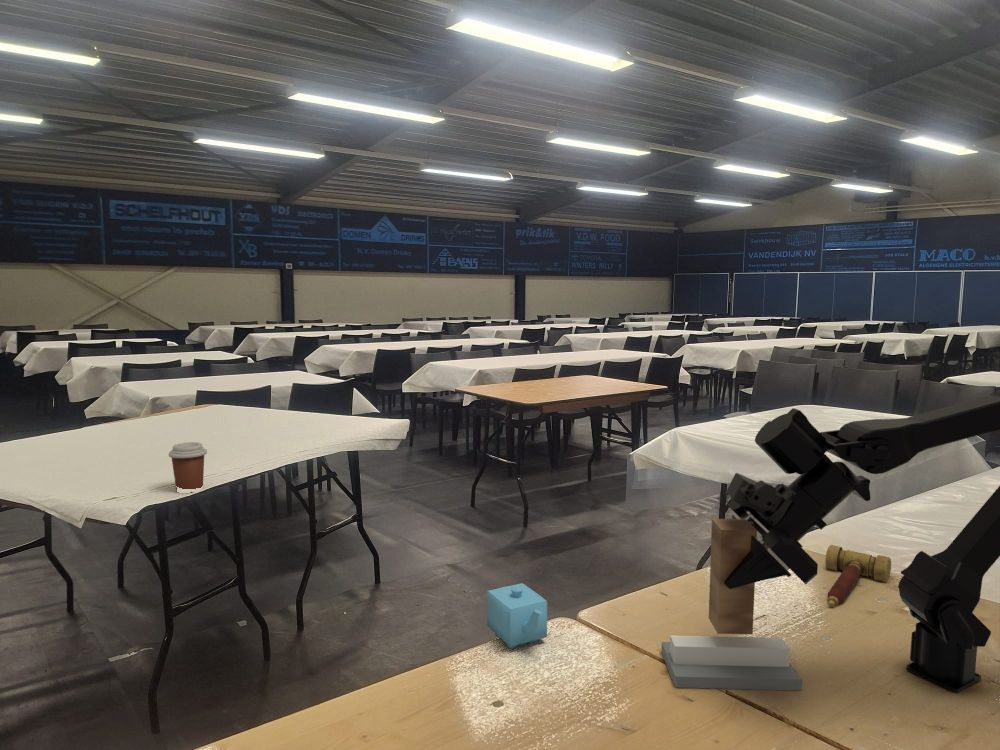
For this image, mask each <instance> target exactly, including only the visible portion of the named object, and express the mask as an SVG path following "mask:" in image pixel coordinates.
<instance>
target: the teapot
mask: <svg viewBox="0 0 1000 750" xmlns="http://www.w3.org/2000/svg"><path fill="white" fill-rule="evenodd" d="M486 593H487V594H486V595H487V596H486V598H487V600H486V601H487V604H486V609H487V611H486V614H487V615H486V618H487V619H486V624H487V625H486V626H487V627H488V628H489V629H491V631H492V632H493V633H495V634H494V636H495V637H498V638H500V639H501V640H502V641H503V642H504V643H505V644H506V647H507V648H509V649H515V648H517V646H519V645H523V644H526V643H536V642H539V640H541V639H545V638H547V636H548V601H547V600H546V599H545V598H544V597H542V596H541V595H540V594H539V593H537V592H536V591H534V590H533V589H532V588H531V587H529V586H527V585H526V584H524V583H522V582H521V583H517V584H512V585H508V586H501V587H499V588H495V589H490V590H487V591H486Z"/></svg>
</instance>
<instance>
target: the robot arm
mask: <svg viewBox="0 0 1000 750" xmlns="http://www.w3.org/2000/svg"><path fill="white" fill-rule="evenodd" d="M998 430H1000V390H997V391H994V392H992V393H989V394H988V395H986V396H981V397H978V398H974V399H971V400H966V401H963V402H960V403H956V404H953V405H949V406H944V407H941V408H937V409H934V410H931V411H930V410H929V411H926V412H924V413H920V414H916V415H911V416H908V417H902V418H873V419H865V420H864V419H863V420H856V421H855V420H854V421H850V422H847V423H845V424H843V425H842V426H841V427H840V428H839V429H835V430H827V431H820V432H819V431H818V429H817V428H816V427H815V426H814V425H813V424H812V423H811V422H810V421H809V419H808V418H807V416H806V415H805V414H804V413H803V412H802V411H801V410H800V409H797V408H795V407H794V408H791V409H790V410H789V411H788V412H787V413H784V414H781V415H779V416H777V417H774V419H772V420H771V421H770V420H769V421H767V422H766V423H765V424H764V425H763V426H762V427H761V428H760V429H759V431H757V433H756V436H755V438H754V443H755V444H756V445H757V446H758V447H759V448H760V449H761V450H762V451H763V452H764V453H765V454H766V455H767V457H769V458H770V459H771V460H772V461H773V463H775V464H776V465H777V467H779V469H781V470H782V471H783V472H784V473H785V474H787V475H791V474H797V475H798V476H797V477H796V478H795V479H794V480H793V481H792V482H791V483H790V484H789V485H785V484H784V483H778V484H777V485H776V486H773V485H772V484H769V483H767V482H765V481H764V480H761V479H760V480H759V481H755V480H753V479H751V478H749V477H747V476H745V475H743V474H742V473H741V474H740V473H738V472H735V474H734V475H733V477H732V479H731V482H730V483H729V486H728V487H727V489H726V490H725V495H726V496H730V499H731V501H729V502H728V503H727V507H728V508H729V509H730V510H731V511H733V512H734V514H735V515H737V516H738V517H737V518H736V517H735V515H734V514H732V515H731V519H746V520H747V521H748V522H749V523H750V524H751V525H752V526H753V527H754V528H755V529H756V530H757V539H756V538H755V537H754V536H753V535H752V536H751V548H750V552H749V553H748V554H747V556H746V557H745V558H744V559H743V560H742V561H741V562H740V564H739V565H738V566H737V567H736V568H735V569H734V570H733V572H732V573H731V574H730V575H729V576H728V578H727V579H726V580H725V582H724V583H725V585H726V586H727V587H728V588H729V589H733V588H736V587H740V586H744V585H747V584H751V583H759V582H762V581H765V580H766V581H767V580H771V579H775V578H781V577H785V576H786V577H788V578H790V577H791V576H792V573H794V575H795V576H796V577H797V578H799V580H800V581H802V582H803V583H804V585H807V584H808V583H809V582H810V581H812V580H813V579H814V578H815V577H816V576H818V571H819V570H818V567H819V564H818V563H817V561H815V559H813V557H811V556H810V554H809V553H807V552H806V551H805V549H804V548H803V547H804V546H803V544H802V543H800V542H799V541H800V540H802V539H803V538H804V537H805V536H806V534H808V533H810V531H811V530H812V529H813V528H814V527H817V528H818V529H819V530H823V529H824V528H825V527H826V526H827V525H828V524H827V523H826V522H825V521H824V518H826V516H828V515H829V514H830V513H831V512H832V511H833V510H834V509H836V508H837V507H838V506H839V505H841V503H842V502H843V501H844V500H846V499H847V498H848V497H849V496H850V495H851V494H853V495H854V496H857V497H858V498H860V499H862V500H863V501H865V502H869V501H871V490H870V484H871V480H870V479H869V478H867V477H865V476H863V475H856V473H854V472H853V471H852V469H850V468H849V467H848V465H846V464H845V463H844V462H847V463H849V464H850V465H852V466H854V467H856V468H858V469H860V470H862V471H865V472H866V473H869V474H872V475H879V474H884V473H888V472H889V471H892V470H894V469H897V468H899V467H901V466H903V465H905V464H907V463H909V462H910V461H911V460H912V459H914V457H916V456H917V455H918V454H919V453H922V452H924V451H927V450H930V449H933V448H936V447H941V446H943V445H948V444H951V443H954V442H958V441H963V440H966V439H970V438H974V437H977V436H982V435H984V434H988V433H991V432H996V431H998ZM826 452H828V453H829V454H831V455H833V456H835V457H837V458H839V459H841V460H843V461H844V462H843V461H832V459H830V458H829V456H827V454H826ZM761 541H762V542H763V543H762V542H761ZM999 558H1000V485H998V487H997V488H996V489H995V491H994V492H993V493H992V494H991V495H990V496H989V498H988V499H987V500H986V502H985V503H983V505H982V506H981V507H980V509H978V511H977V512H975V514H974V515H973V517H972V518H971V519H970V520H969V521H968V522H967V524H965V527H963V528H962V529H961V531H960V532H959V533H958V534H957V536H956V537H955V538H954V539H953V540H952V542H950V544H949V545H948V546H947V548H945V549H944V550H943V551H941V552H938V553H936V554H933V555H930V554H928V553H926V552H925V551H922V550H921V551H919V552H918V553H916V555H915V557H914V558H913V559H912V561H911V563H910V564H909V565H908V566H907V567H905V568H904V569H902V570H900V574H902V577H901V578H900V580H899V582H898V586H897V588H898V593H899V597H900V599H901V601H902V602H903V603H904V605H906V607H908V609H909V613H910V616H912V617H913V618H915V619H916V620H917V621H918V622H916V623H915V629H914V631H913V632H911V637H910V639H911V640H910V651H909V652H910V653H909V660H910V662H911V663H908V664H906V665H905V669H906V670H907V671H908V672H911V673H913V674H915V675H917V676H919V677H921V678H924V679H926V680H927V681H929V682H932V683H934V684H936V685H939V686H940V687H943V688H945V689H947V690H949V691H951V692H955V693H958V692H960V691H962V690H964V689H965V688H968V687H970V686H972V685H973V684H975V683H977V682H979V681H982V675H981V674H979V673H977V672H976V668H977V657H978V656H977V654H978V647H985V646H986V645H987V643H988V641H989V639H990V637H991V634H992V631H991V630H990V629H989V628H988V627H987V626H986V625H985V624H984V623H983V622H982V621H981V620H980V619H979V618H978V617H977V616H976V615H975V613H973V612H974V611H975V609H976V608H977V606H978V605H979V603H980V600H981V593H982V586H983V585H982V584H983V578H984V576H985V574H986V573H987V572H988V571H989V570H990V568H991V567H992V566H993V565H994V564H995V563H996V562H997V560H999ZM789 570H791V571H792V573H790V571H789Z"/></svg>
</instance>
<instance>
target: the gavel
mask: <svg viewBox="0 0 1000 750" xmlns="http://www.w3.org/2000/svg"><path fill="white" fill-rule="evenodd" d="M824 564H825V569H827V570H830V569H831V570H830V571H835V572H839V570H841V571H842V572H841V573H840V574H839V577H837V579H836V581H835V582H834V584H833V585H832V586H831V588H830V590H829V591H828V593H827V605H828V606H829V607H831V608H834V607H836V606H838V605H841V604H843V603H844V602H845V600H846V599H847V597H848V595H849V594H850V593H851V590H852V589H853V587H854V585H855V584H856V582H857V581H858V579H859V578H860V576H861V575H862V576H861V577H865V576H867V577H866V578H869V576H870V578H873V579H875V580H874V581H877V580H879V581H878V582H881V581H883V582H882V583H888V581H889V580H890V577H891V571H892V559H891V557H889V556H885V555H881V554H877V555H876V556H873V555H872V554H868V553H867V554H866V553H862V552H858V551H854V550H853V551H852V550H849V549H846V550H845V549H843V547H842V546H840V545H839V546H838V545H834V544H830V545H829V546H828V547H827V549H826V554H825V563H824ZM888 579H889V580H888Z"/></svg>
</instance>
